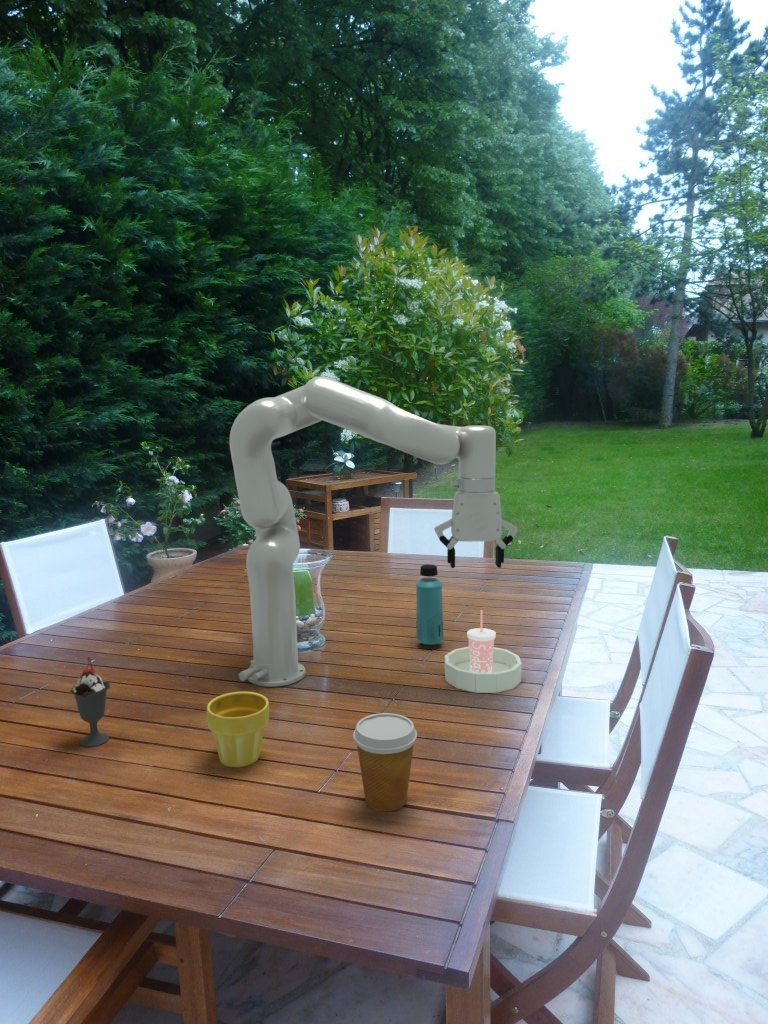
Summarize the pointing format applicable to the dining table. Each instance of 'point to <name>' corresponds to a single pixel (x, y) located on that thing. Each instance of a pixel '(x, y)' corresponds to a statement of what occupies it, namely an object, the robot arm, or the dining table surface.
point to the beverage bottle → (429, 607)
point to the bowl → (499, 680)
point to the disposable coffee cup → (385, 759)
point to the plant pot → (238, 726)
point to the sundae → (91, 704)
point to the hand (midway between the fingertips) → (475, 566)
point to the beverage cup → (481, 648)
